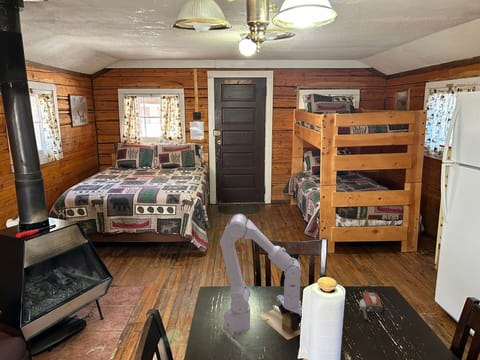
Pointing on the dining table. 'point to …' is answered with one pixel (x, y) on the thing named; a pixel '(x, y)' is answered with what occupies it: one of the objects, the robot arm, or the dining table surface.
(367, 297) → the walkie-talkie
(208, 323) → the dining table surface
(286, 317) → the brown knobbed block
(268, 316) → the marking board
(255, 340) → the dining table surface
